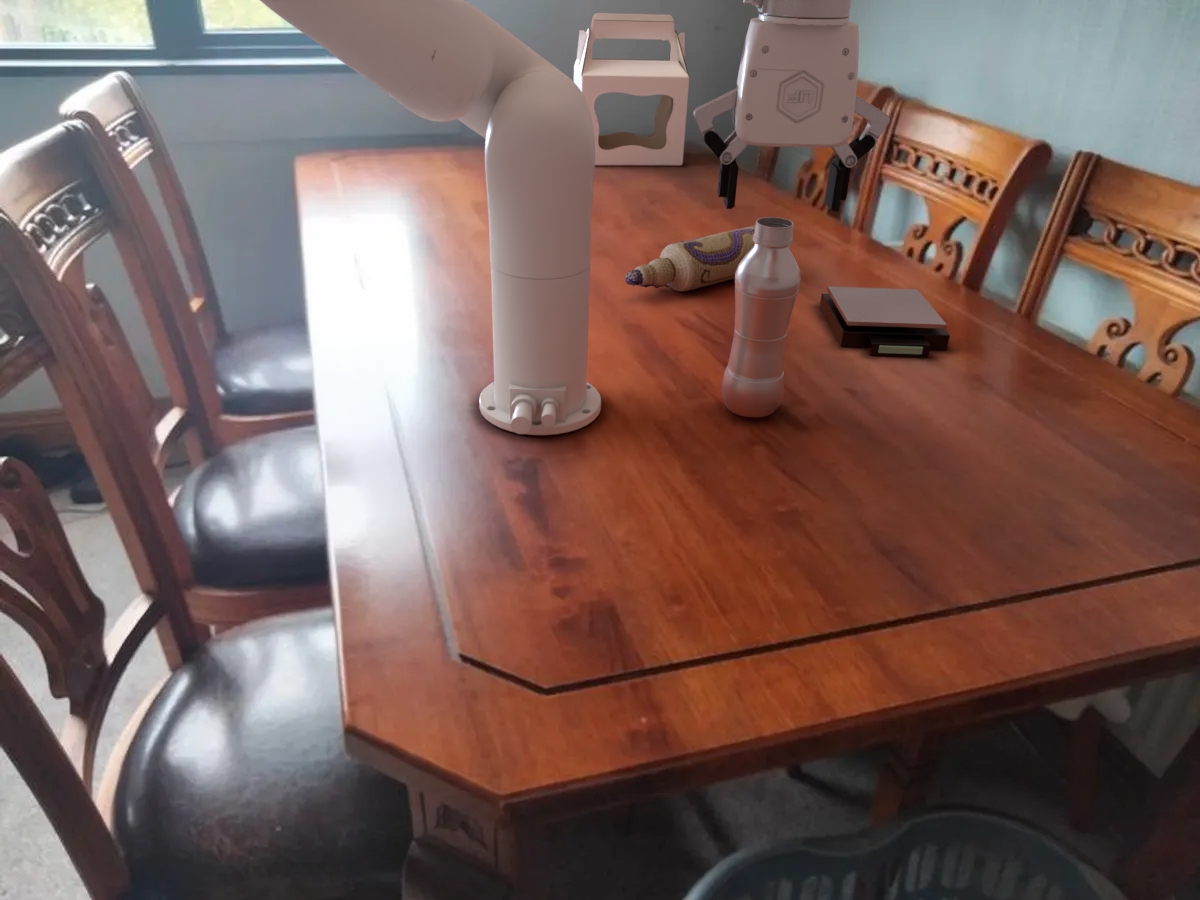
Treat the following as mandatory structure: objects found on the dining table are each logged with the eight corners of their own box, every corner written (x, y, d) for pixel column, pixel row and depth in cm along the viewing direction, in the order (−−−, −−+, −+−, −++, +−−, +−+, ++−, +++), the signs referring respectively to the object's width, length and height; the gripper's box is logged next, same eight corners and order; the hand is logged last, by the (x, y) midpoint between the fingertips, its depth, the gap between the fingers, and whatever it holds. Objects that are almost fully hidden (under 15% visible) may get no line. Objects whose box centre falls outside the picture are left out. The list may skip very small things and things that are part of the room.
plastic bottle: (709, 415, 94) (729, 225, 84) (732, 390, 100) (754, 208, 89) (768, 431, 92) (797, 237, 82) (789, 404, 97) (818, 219, 87)
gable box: (578, 165, 187) (581, 15, 173) (571, 151, 198) (573, 9, 184) (683, 165, 190) (695, 18, 176) (670, 151, 201) (680, 11, 187)
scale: (953, 359, 109) (959, 334, 107) (845, 355, 109) (849, 330, 107) (915, 310, 122) (920, 288, 121) (819, 307, 122) (823, 284, 120)
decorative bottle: (745, 261, 138) (750, 217, 134) (780, 276, 132) (787, 231, 129) (607, 291, 124) (609, 244, 121) (640, 310, 119) (644, 261, 116)
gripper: (706, 3, 73) (690, 215, 81) (921, 9, 73) (882, 220, 82) (698, -4, 79) (684, 193, 88) (895, 2, 79) (862, 198, 88)
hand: (779, 206), depth 85 cm, fingers open, 9 cm apart
